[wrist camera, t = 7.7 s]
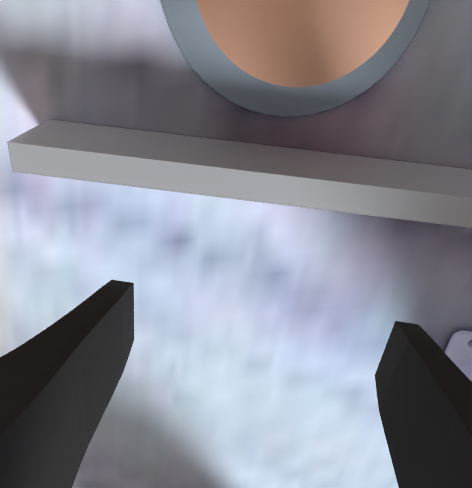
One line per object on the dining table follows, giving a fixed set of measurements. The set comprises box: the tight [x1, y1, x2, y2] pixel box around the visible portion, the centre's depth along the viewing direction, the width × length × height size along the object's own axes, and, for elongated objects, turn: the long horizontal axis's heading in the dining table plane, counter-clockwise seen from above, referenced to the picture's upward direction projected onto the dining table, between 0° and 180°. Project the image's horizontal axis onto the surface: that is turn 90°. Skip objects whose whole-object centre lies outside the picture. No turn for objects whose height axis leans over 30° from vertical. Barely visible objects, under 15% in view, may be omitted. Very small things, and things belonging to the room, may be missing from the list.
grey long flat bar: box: [7, 119, 472, 228], centre depth 18 cm, size 20×1×4 cm, turn 85°
